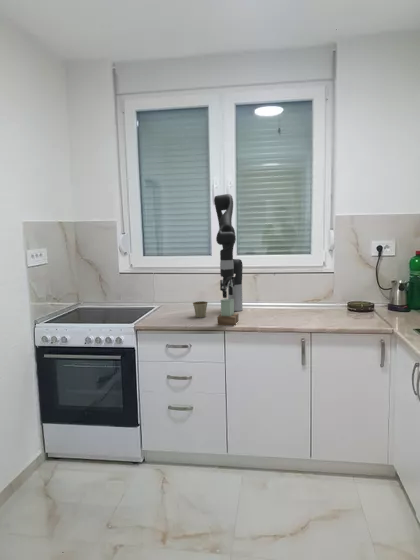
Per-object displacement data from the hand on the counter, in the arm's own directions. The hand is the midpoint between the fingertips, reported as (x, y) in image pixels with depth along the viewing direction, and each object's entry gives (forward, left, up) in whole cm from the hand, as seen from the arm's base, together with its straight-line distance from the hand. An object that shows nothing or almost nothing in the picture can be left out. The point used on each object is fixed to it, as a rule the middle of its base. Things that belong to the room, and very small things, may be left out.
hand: (227, 296), depth 236 cm
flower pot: (-10, -23, -16) cm, 30 cm away
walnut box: (0, 0, -16) cm, 16 cm away
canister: (0, 0, -11) cm, 11 cm away
